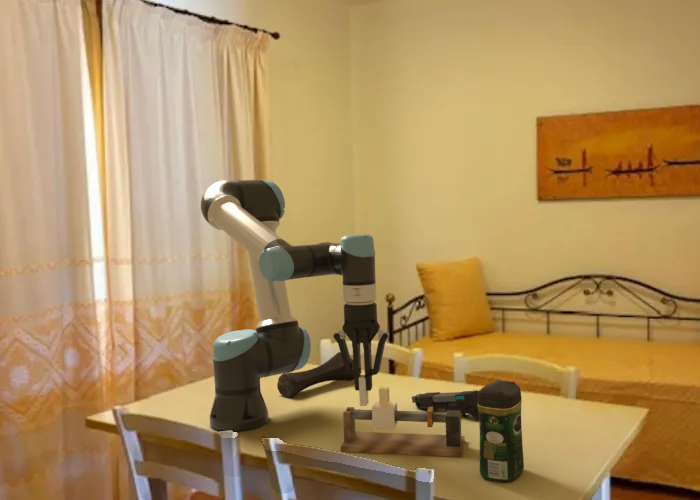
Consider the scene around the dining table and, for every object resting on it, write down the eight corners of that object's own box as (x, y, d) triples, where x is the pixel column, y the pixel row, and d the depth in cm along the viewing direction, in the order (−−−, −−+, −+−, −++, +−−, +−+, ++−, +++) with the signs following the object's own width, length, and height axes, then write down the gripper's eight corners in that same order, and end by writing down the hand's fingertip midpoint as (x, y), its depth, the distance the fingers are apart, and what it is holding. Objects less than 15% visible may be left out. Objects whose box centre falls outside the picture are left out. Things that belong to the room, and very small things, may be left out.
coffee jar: (491, 462, 143) (489, 375, 142) (528, 469, 138) (526, 379, 137) (473, 478, 135) (471, 387, 133) (512, 486, 130) (510, 391, 129)
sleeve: (372, 428, 153) (371, 390, 153) (376, 422, 158) (375, 384, 157) (394, 429, 152) (393, 391, 151) (397, 422, 157) (396, 385, 156)
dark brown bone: (349, 383, 219) (283, 414, 200) (334, 353, 222) (268, 382, 202) (368, 372, 212) (303, 403, 192) (353, 341, 214) (287, 369, 194)
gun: (480, 422, 168) (468, 383, 169) (420, 434, 181) (409, 397, 182) (490, 418, 171) (477, 379, 172) (430, 429, 184) (419, 393, 186)
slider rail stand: (340, 451, 153) (339, 413, 152) (350, 436, 162) (349, 400, 162) (461, 457, 146) (460, 417, 146) (464, 440, 156) (463, 403, 155)
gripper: (328, 305, 152) (332, 408, 153) (385, 304, 149) (389, 409, 150) (336, 300, 159) (340, 398, 161) (391, 299, 156) (394, 400, 158)
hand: (364, 404), depth 156 cm, fingers closed
